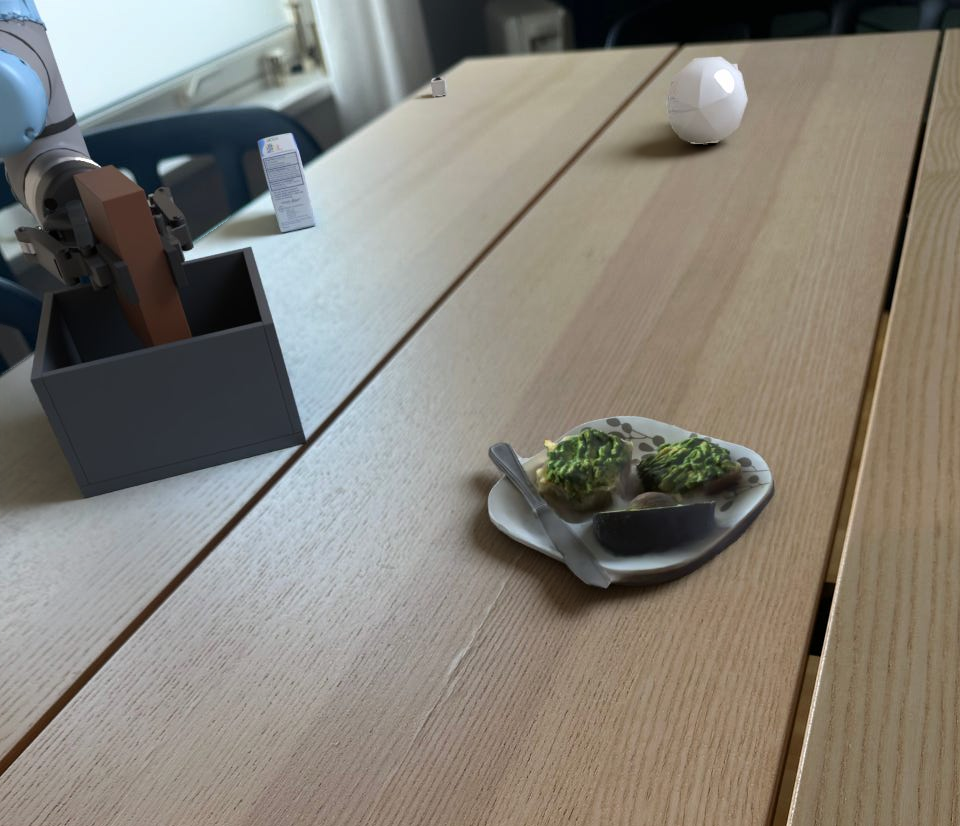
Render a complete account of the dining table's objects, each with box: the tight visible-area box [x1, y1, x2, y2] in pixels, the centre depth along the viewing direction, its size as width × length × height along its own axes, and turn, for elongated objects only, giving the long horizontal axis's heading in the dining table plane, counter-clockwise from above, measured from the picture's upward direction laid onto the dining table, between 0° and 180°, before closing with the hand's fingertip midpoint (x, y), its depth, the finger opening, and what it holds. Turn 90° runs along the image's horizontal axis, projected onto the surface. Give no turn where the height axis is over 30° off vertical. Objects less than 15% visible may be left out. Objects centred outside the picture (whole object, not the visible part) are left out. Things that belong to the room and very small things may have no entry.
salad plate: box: [487, 415, 776, 589], centre depth 67 cm, size 19×18×5 cm
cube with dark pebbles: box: [430, 76, 448, 97], centre depth 158 cm, size 2×2×2 cm
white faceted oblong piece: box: [665, 56, 749, 143], centre depth 123 cm, size 9×10×15 cm
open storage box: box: [29, 246, 307, 499], centre depth 83 cm, size 18×18×10 cm
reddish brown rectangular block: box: [73, 164, 192, 348], centre depth 77 cm, size 3×9×12 cm, turn 30°
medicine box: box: [257, 132, 317, 233], centre depth 119 cm, size 8×4×9 cm, turn 13°
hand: (153, 277), depth 73 cm, fingers closed on reddish brown rectangular block, 3 cm apart
